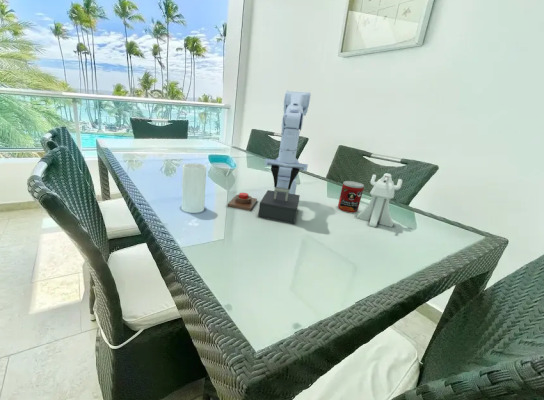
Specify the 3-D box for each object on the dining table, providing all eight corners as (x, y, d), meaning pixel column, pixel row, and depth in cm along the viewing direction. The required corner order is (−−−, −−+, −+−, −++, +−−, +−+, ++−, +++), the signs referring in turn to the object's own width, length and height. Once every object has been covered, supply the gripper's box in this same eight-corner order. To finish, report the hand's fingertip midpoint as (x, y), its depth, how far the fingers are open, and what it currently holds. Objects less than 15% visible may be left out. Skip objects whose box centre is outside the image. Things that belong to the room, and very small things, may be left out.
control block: (236, 197, 115) (236, 190, 114) (256, 201, 113) (257, 194, 112) (227, 206, 104) (228, 199, 103) (250, 211, 102) (251, 203, 101)
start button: (240, 195, 110) (240, 192, 109) (248, 197, 109) (249, 193, 108) (237, 198, 106) (238, 194, 106) (246, 199, 105) (247, 196, 105)
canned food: (337, 210, 109) (343, 184, 106) (337, 204, 117) (343, 179, 113) (358, 214, 107) (365, 187, 103) (357, 208, 114) (363, 182, 110)
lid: (267, 191, 110) (269, 178, 108) (299, 197, 106) (301, 183, 105) (259, 204, 95) (261, 189, 93) (296, 211, 92) (299, 195, 90)
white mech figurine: (353, 222, 99) (366, 174, 93) (359, 212, 109) (371, 168, 103) (391, 232, 93) (407, 181, 87) (393, 221, 103) (407, 174, 97)
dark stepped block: (265, 203, 111) (267, 192, 109) (297, 209, 107) (299, 197, 106) (258, 217, 97) (259, 204, 95) (294, 224, 93) (296, 211, 92)
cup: (186, 214, 94) (187, 168, 89) (178, 205, 101) (179, 163, 96) (207, 211, 98) (210, 168, 93) (199, 203, 105) (200, 162, 99)
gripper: (265, 148, 91) (260, 187, 96) (309, 153, 87) (302, 193, 92) (268, 145, 97) (263, 182, 102) (310, 150, 93) (303, 188, 98)
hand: (282, 187), depth 97 cm, fingers open, 4 cm apart
